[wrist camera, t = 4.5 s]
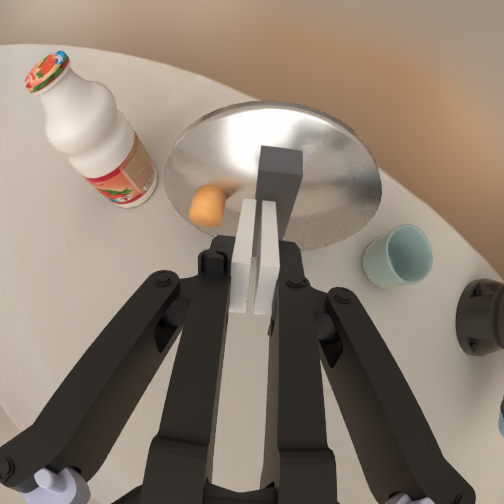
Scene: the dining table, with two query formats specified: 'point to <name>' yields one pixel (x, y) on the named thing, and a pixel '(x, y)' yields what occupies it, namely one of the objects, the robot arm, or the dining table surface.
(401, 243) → the cup
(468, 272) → the dining table surface
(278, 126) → the lid
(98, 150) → the fruit juice
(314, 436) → the robot arm
